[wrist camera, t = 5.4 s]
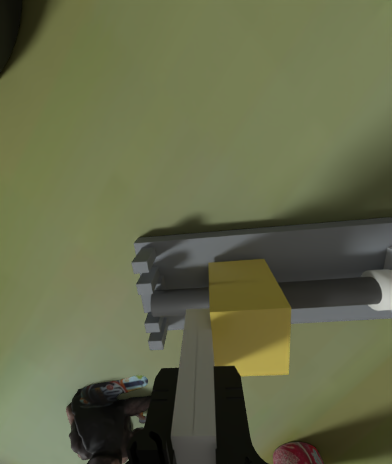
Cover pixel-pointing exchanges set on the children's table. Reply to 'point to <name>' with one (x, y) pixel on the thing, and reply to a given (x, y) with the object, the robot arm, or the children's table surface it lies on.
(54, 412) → the children's table surface
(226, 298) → the sleeve
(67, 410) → the stuffed animal
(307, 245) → the comb rail
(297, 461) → the cup
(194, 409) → the robot arm
